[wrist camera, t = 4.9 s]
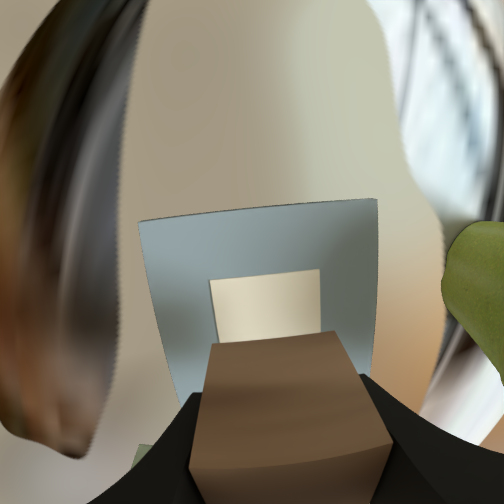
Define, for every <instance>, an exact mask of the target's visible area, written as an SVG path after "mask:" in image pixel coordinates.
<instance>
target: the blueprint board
mask: <svg viewBox="0 0 504 504" xmlns="http://www.w3.org/2000/svg"><path fill="white" fill-rule="evenodd" d="M138 227H139V234H140V240H141V246H142V252H143V257H144V262H145V268H146V273H147V279H148V284H149V288H150V293H151V298H152V302H153V306H154V311H155V316H156V320H157V324H158V328H159V332H160V336H161V340H162V344H163V348H164V352H165V355H166V359H167V362H168V366H169V370H170V373H171V377H172V380H173V383H174V387H175V390H176V393H177V396H178V400H179V403H180V406H181V408H182V407H183V405H184V404H185V402H186V400H187V399H188V397H189V396H190V395H191V394H192V393H193V392H203V386H204V381H205V376H206V371H207V366H208V360H209V355H210V350H211V345H212V343H226V342H239V341H251V340H261V339H271V338H280V337H289V336H297V335H305V334H312V333H320V332H327V331H333V330H335V332H336V334H337V336H338V337H339V339H340V341H341V343H342V345H343V347H344V348H345V350H346V352H347V354H348V356H349V358H350V360H351V361H352V363H353V365H354V367H355V369H356V371H357V373H358V374H363V373H364V374H366V375H367V376H368V377H370V368H371V361H372V352H373V343H374V332H375V320H376V319H375V318H376V304H377V282H378V208H377V199H373V198H371V199H352V200H337V201H322V202H309V203H297V204H285V205H274V206H263V207H253V208H243V209H233V210H224V211H215V212H206V213H198V214H189V215H181V216H173V217H166V218H158V219H151V220H143V221H140V222H138Z"/></svg>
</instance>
